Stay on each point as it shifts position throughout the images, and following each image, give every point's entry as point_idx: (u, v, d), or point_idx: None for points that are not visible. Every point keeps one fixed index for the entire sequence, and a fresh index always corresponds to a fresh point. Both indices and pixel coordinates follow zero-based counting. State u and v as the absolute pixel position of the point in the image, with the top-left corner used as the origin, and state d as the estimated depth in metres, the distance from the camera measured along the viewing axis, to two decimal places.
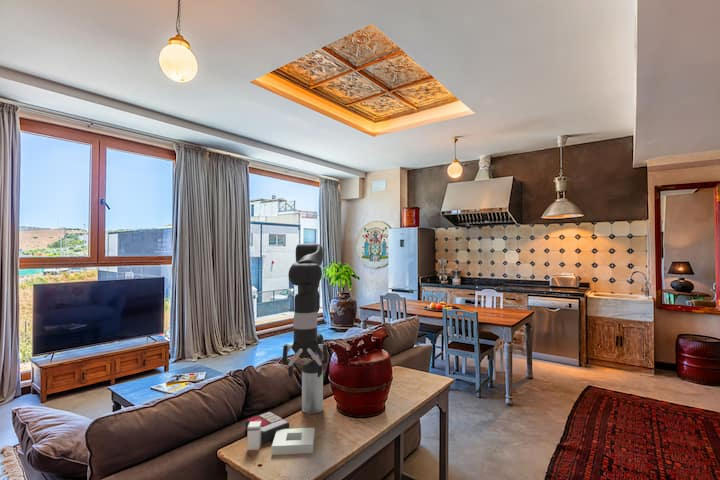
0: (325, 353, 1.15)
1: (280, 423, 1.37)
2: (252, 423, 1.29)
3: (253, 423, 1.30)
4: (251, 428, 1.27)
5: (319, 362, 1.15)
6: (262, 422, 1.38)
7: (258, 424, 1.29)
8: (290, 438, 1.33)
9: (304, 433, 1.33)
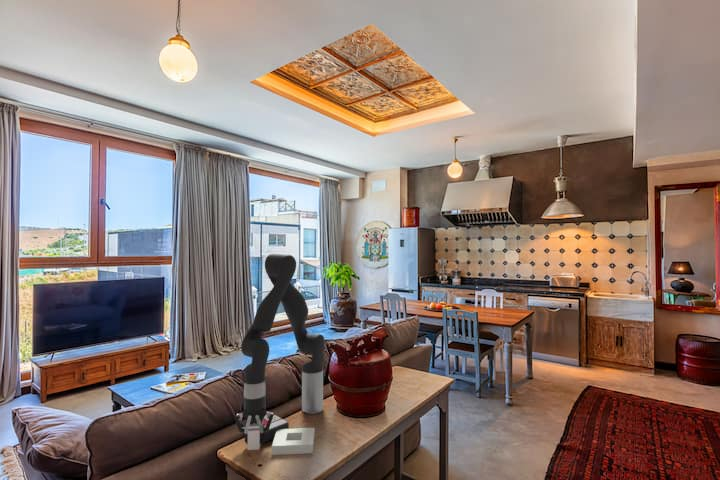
0: (269, 422, 1.29)
1: (280, 423, 1.37)
2: None
3: None
4: (251, 428, 1.27)
5: (261, 430, 1.28)
6: None
7: None
8: (290, 438, 1.33)
9: (304, 433, 1.33)
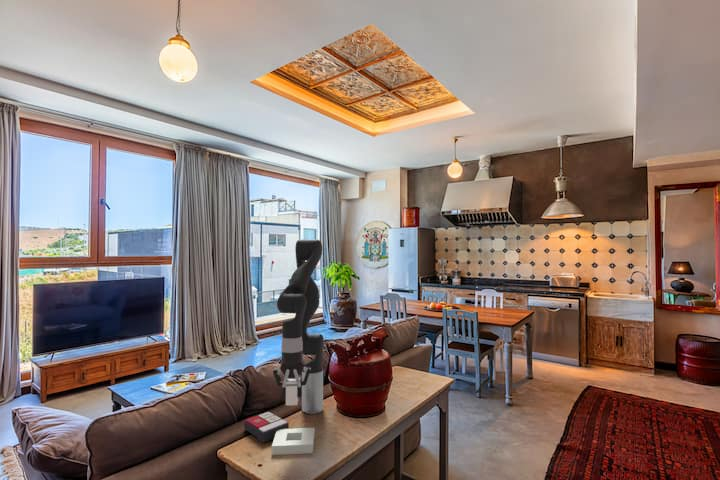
0: (306, 376, 1.30)
1: (279, 423, 1.37)
2: (290, 380, 1.31)
3: (291, 380, 1.32)
4: (289, 383, 1.29)
5: (298, 384, 1.30)
6: (261, 422, 1.38)
7: None
8: (290, 438, 1.33)
9: (304, 433, 1.33)
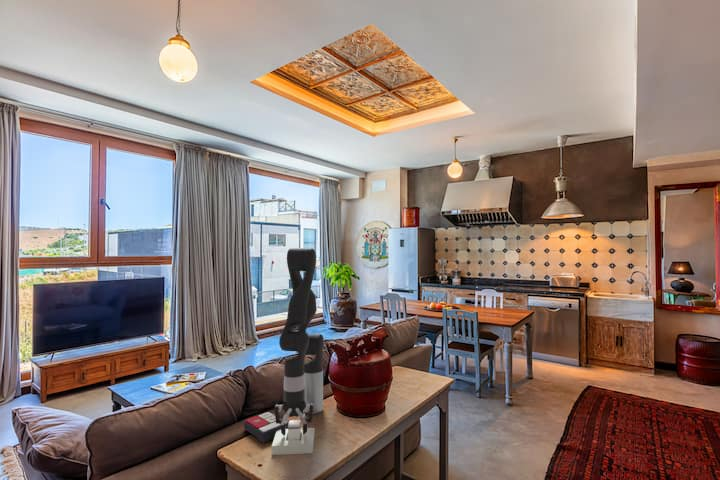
0: (311, 413, 1.30)
1: None
2: (292, 422, 1.30)
3: (293, 422, 1.31)
4: (292, 426, 1.28)
5: (304, 421, 1.29)
6: (261, 422, 1.38)
7: (298, 423, 1.30)
8: None
9: None
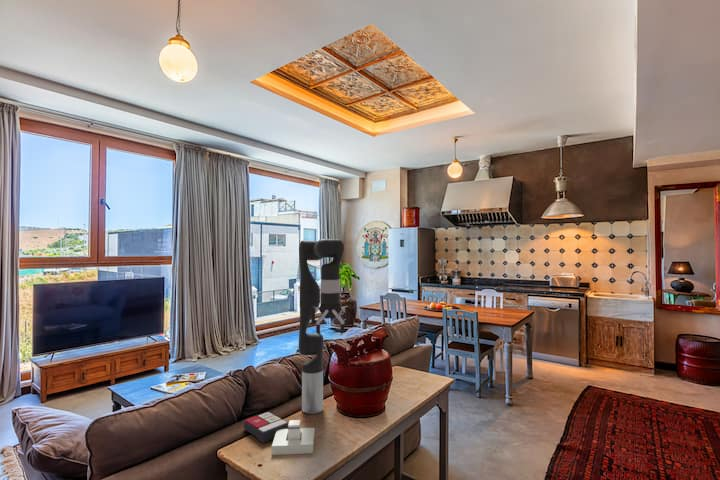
0: (347, 314, 1.37)
1: (279, 423, 1.37)
2: (292, 422, 1.30)
3: (293, 422, 1.31)
4: (291, 427, 1.28)
5: (342, 321, 1.37)
6: (261, 422, 1.38)
7: (298, 423, 1.30)
8: None
9: (304, 433, 1.33)
